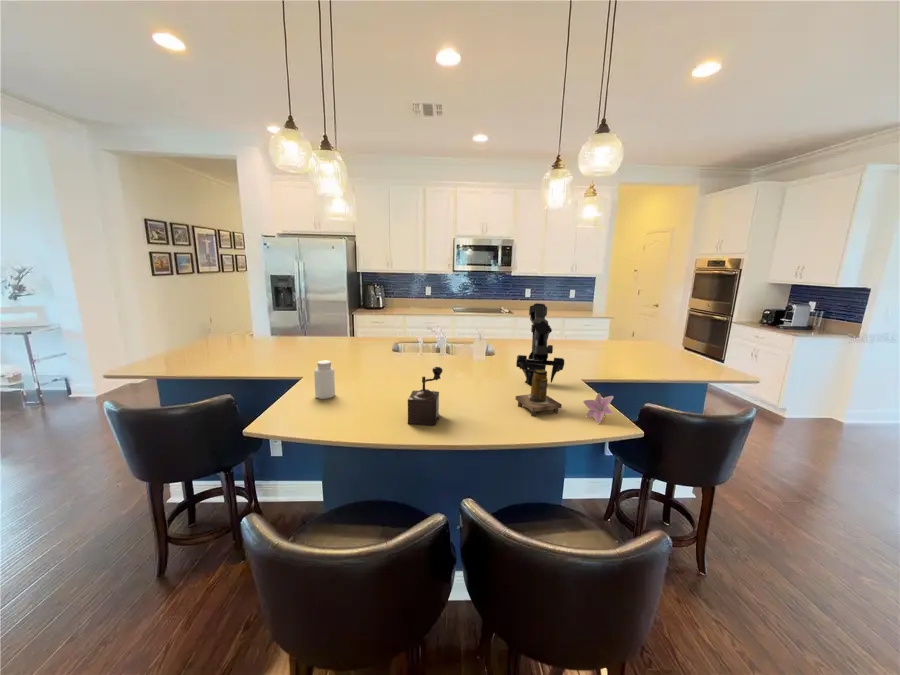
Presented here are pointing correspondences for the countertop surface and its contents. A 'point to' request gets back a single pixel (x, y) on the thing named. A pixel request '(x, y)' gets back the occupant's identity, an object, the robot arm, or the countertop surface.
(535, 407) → the stool
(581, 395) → the countertop surface
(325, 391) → the pill bottle
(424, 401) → the manual coffee grinder
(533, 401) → the condiment
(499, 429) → the countertop surface
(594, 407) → the lily
